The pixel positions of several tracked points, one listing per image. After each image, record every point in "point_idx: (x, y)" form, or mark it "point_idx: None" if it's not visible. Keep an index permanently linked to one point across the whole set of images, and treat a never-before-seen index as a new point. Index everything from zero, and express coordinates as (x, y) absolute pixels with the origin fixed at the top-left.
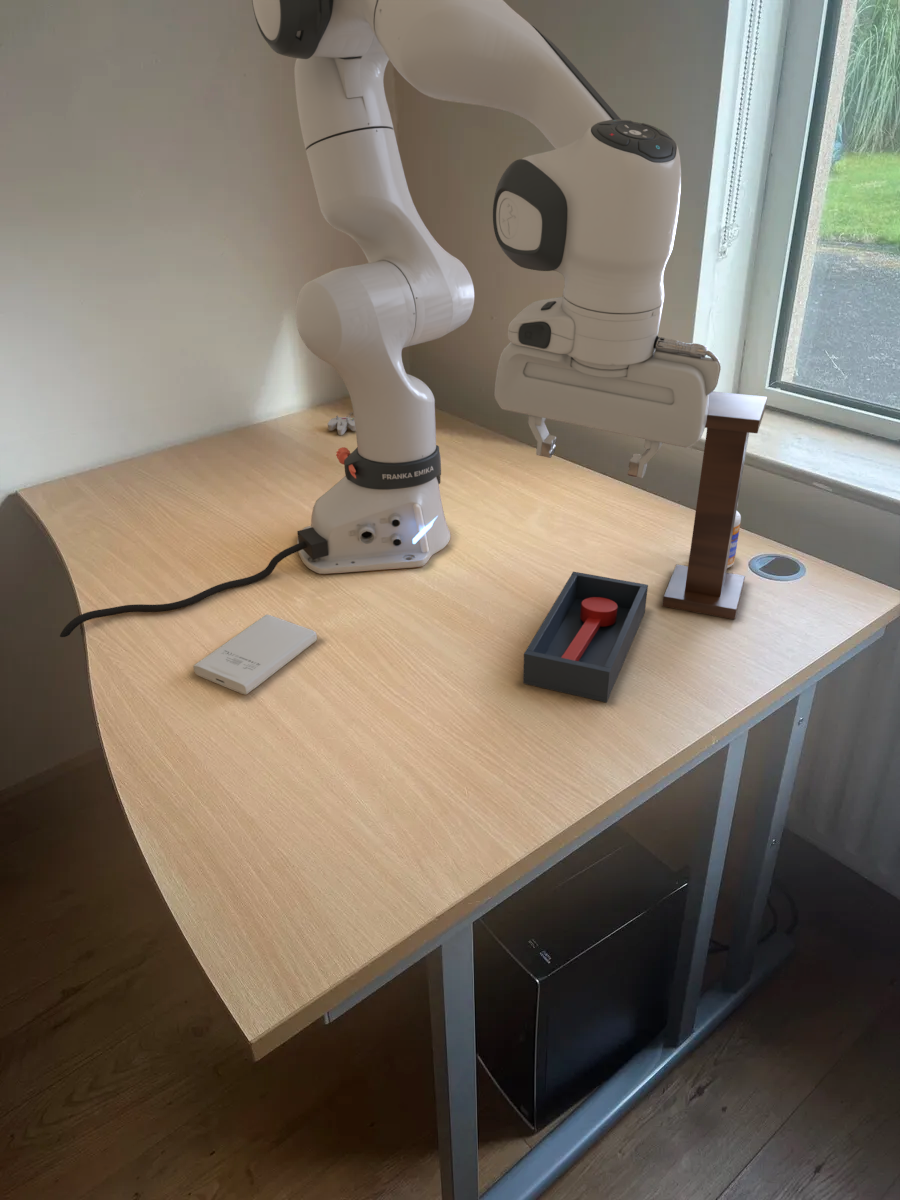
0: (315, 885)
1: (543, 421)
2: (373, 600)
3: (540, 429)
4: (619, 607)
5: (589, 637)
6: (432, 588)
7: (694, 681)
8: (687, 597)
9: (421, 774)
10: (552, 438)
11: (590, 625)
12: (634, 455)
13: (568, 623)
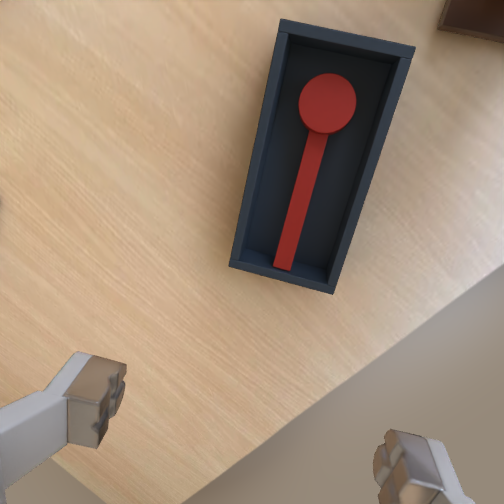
0: (136, 462)
1: (2, 501)
2: (17, 90)
3: (20, 464)
4: (361, 59)
5: (310, 197)
6: (77, 39)
7: (445, 228)
8: (488, 20)
9: (171, 376)
10: (89, 420)
11: (312, 159)
12: (407, 491)
13: (282, 122)
